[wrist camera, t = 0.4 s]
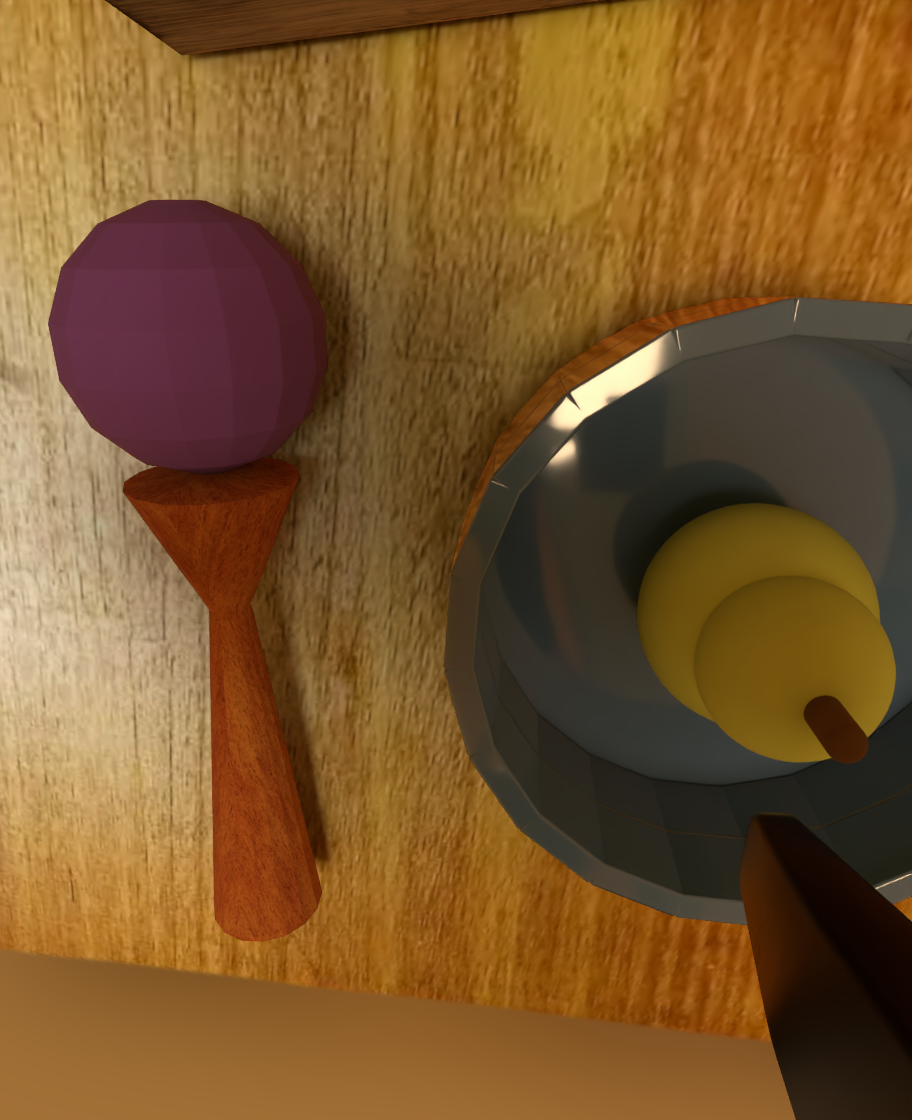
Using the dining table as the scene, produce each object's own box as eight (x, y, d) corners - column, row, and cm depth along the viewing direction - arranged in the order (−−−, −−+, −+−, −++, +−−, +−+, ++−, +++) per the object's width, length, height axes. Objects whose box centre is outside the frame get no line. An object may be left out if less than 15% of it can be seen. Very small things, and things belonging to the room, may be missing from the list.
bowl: (818, 855, 25) (897, 1005, 19) (391, 686, 24) (355, 794, 19) (1110, 431, 20) (1318, 478, 15) (593, 207, 19) (620, 173, 14)
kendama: (126, 954, 23) (-50, 197, 15) (233, 817, 28) (143, 206, 20) (315, 1002, 21) (228, 192, 14) (389, 849, 27) (357, 203, 19)
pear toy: (765, 695, 22) (908, 927, 14) (591, 624, 22) (634, 819, 14) (867, 527, 21) (1099, 680, 12) (680, 449, 20) (789, 550, 12)
